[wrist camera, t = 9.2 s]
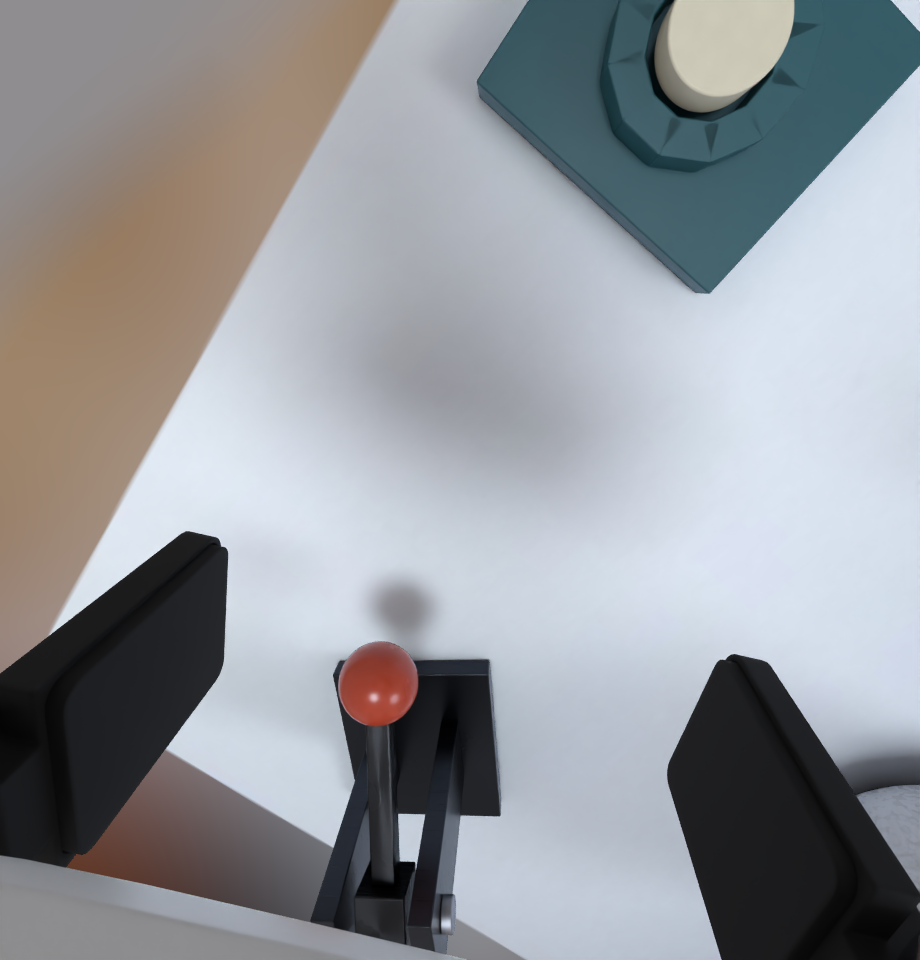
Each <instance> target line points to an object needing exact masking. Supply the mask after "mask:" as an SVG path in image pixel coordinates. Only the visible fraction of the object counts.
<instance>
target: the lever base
mask: <svg viewBox="0 0 920 960" xmlns="http://www.w3.org/2000/svg"><path fill="white" fill-rule="evenodd" d="M344 663H345V662H339V663H338V665H337V667H336V669H335V672H334V674H333V677H334V682H335V687H336V692H337V697H338V701H339V706H340V711H341V716H342V721H343V726H344V730H345V735H346V740H347V745H348V750H349V754H350V759H351V764H352V769H353V774H354V779H355V783H354V786H353V789H352V792H351V795H350V799H349V802H348V805H347V808H346V811H345V814H344V817H343V820H342V824H341V827H340V830H339V833H338V836H337V839H336V842H335V845H334V848H333V852H332V855H331V858H330V861H329V864H328V867H327V871H326V874H325V877H324V880H323V883H322V886H321V889H320V892H319V895H318V898H317V902H316V905H315V908H314V911H313V914H312V917H311V923H314V924H319V925H323V926H327V927H332V928H336V929H340V930H344V931H349V932H353V933H355V915H354V896H355V894H356V892H357V889H358V887H359V885H360V882H361V880H362V878H363V875H364V873H365V871H366V869H367V866H368V864H369V862H370V836H369V807H368V778H367V750H366V725H364V724H362V723H360V722H358V721H356V720H355V719H353V718H352V717H351V716H350V715H349V714H348V713H347V712H346V710H345V709H344V707H343V705H342V703H341V700H340V697H339V692H338V681H339V675H340V672H341V669H342V667H343V665H344ZM414 663H415V666H416V668H417V672H418V679H419V681H418V692H417V695H416V698H415V700H414V703H413V704H412V706H411V708H410V709H409V710H408V711H407V713H406V714H405V715H404V716H403V717H401V718H400V719H398V720H397V721H395V748H396V775H397V802H398V814H425V820H424V826H423V832H422V838H421V844H420V850H419V856H418V862H417V868H416V874H415V880H414V886H413V892H412V898H411V904H410V909H409V915H408V921H407V929H408V935H409V940H410V945H411V946H412V947H416V948H421V949H425V950H429V951H433V952H438V953H442V954H446V950H447V941H448V935H453V933H454V929H455V918H456V901H455V895H454V894H452V892H453V883H454V873H455V863H456V853H457V844H458V834H459V824H460V815H466V816H500V815H501V793H500V781H499V769H498V757H497V745H496V733H495V721H494V709H493V697H492V685H491V673H490V662H489V661H488V660H486V661H414Z"/></svg>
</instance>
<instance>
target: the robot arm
mask: <svg viewBox="0 0 920 960" xmlns="http://www.w3.org/2000/svg"><path fill="white" fill-rule="evenodd" d="M227 570H228V551H227V549H226V548H225V547H221V543H220V541H219V539H218V538H216V537H212V536H207V535H203V534H199V533H194V532H190V531H185V532H184V533H182V534H180V535H179V536H178V537H177V538H175V539H174V540H173V541H171V542H170V543H169V544H167V545H166V546H165V547H164V548H162V549H161V550H160V551H158V552H157V553H156V554H154V555H153V556H152V557H151V558H149V559H148V560H147V561H145V562H144V563H143V564H142V565H140V566H139V567H138V568H136V569H135V570H134V571H132V572H131V573H130V574H129V575H127V576H126V577H125V578H123V579H122V580H121V581H120V582H118V583H117V584H116V585H114V586H113V587H112V588H110V589H109V590H108V591H107V592H105V593H104V594H103V595H101V596H100V597H99V598H98V599H96V600H95V601H94V602H92V603H91V604H90V605H88V606H87V607H86V608H85V609H83V610H82V611H81V612H79V613H78V614H77V615H75V616H74V617H73V618H72V619H70V620H69V621H68V622H66V623H65V624H64V625H63V626H61V627H60V628H59V629H57V630H56V631H55V632H53V633H52V634H51V635H50V636H48V637H47V638H46V639H44V640H43V641H42V642H41V643H39V644H38V645H37V646H35V647H34V648H33V649H31V650H30V651H29V652H28V653H26V654H25V655H24V656H23V657H21V658H20V659H19V660H17V661H16V662H15V663H13V664H12V665H11V666H9V667H8V668H7V669H6V670H4V671H3V672H2V673H0V960H467V959H463V958H459V957H454V956H450V955H446V954H442V953H438V952H433V951H429V950H425V949H421V948H416V947H412V946H408V945H404V944H399V943H395V942H391V941H387V940H383V939H378V938H374V937H370V936H366V935H361V934H357V933H353V932H349V931H344V930H340V929H336V928H332V927H327V926H323V925H319V924H314V923H310V922H306V921H301V920H297V919H293V918H288V917H284V916H280V915H275V914H271V913H267V912H262V911H258V910H254V909H249V908H245V907H241V906H236V905H232V904H227V903H223V902H219V901H215V900H210V899H206V898H202V897H197V896H193V895H189V894H184V893H180V892H176V891H171V890H167V889H163V888H158V887H154V886H150V885H145V884H141V883H136V882H131V881H126V880H122V879H117V878H112V877H107V876H102V875H97V874H93V873H88V872H83V871H79V870H74V869H69V868H66V867H67V866H68V864H69V863H70V862H71V860H72V859H73V858H74V856H75V855H76V854H80V855H83V854H86V853H87V852H88V851H89V850H90V849H91V848H92V847H93V846H94V845H95V844H96V842H97V841H98V840H99V838H100V837H101V836H102V834H103V833H104V831H105V830H106V829H107V827H108V826H109V825H110V823H111V822H112V821H113V819H114V818H115V816H116V815H117V814H118V812H119V811H120V810H121V808H122V807H123V806H124V804H125V803H126V802H127V800H128V799H129V798H130V796H131V795H132V793H133V792H134V791H135V790H136V788H137V787H138V785H139V784H140V782H141V781H142V780H143V779H144V777H145V776H146V774H147V773H148V772H149V771H150V769H151V768H152V766H153V765H154V764H155V762H156V761H157V760H158V758H159V757H160V756H161V754H162V753H163V752H164V750H165V749H166V748H167V746H168V745H169V744H170V742H171V741H172V739H173V738H174V737H175V735H176V734H177V733H178V731H179V730H180V729H181V727H182V726H183V725H184V723H185V722H186V720H187V719H188V718H189V716H190V715H191V714H192V712H193V711H194V710H195V708H196V707H197V706H198V704H199V703H200V702H201V700H202V699H203V697H204V696H205V695H206V693H207V692H208V691H209V689H210V688H211V687H212V685H213V684H214V683H215V681H216V680H217V678H218V676H219V674H220V672H221V669H222V666H223V662H224V644H225V620H226V595H227ZM667 778H668V784H669V788H670V791H671V794H672V798H673V801H674V804H675V808H676V811H677V814H678V818H679V821H680V824H681V827H682V831H683V834H684V837H685V841H686V844H687V847H688V850H689V854H690V857H691V860H692V864H693V867H694V870H695V873H696V877H697V880H698V883H699V887H700V890H701V893H702V897H703V900H704V903H705V906H706V910H707V913H708V916H709V920H710V923H711V926H712V929H713V933H714V936H715V939H716V943H717V946H718V949H719V953H720V956H721V959H722V960H920V911H919V910H918V908H917V905H918V904H919V903H920V892H919V891H918V889H917V888H916V886H915V885H914V883H913V881H912V880H911V878H910V877H909V875H908V874H907V872H906V871H905V869H904V868H903V866H902V865H901V863H900V862H899V860H898V859H897V857H896V856H895V854H894V853H893V851H892V850H891V848H890V847H889V845H888V844H887V842H886V840H885V839H884V837H883V836H882V834H881V833H880V831H879V830H878V828H877V827H876V825H875V824H874V822H873V821H872V819H871V818H870V816H869V815H868V813H867V812H866V810H865V809H864V807H863V806H862V804H861V803H860V801H859V799H858V798H857V796H856V795H855V793H854V792H853V790H852V789H851V787H850V786H849V784H848V783H847V781H846V780H845V778H844V777H843V775H842V774H841V772H840V771H839V769H838V768H837V766H836V765H835V763H834V762H833V760H832V758H831V757H830V755H829V754H828V752H827V751H826V749H825V748H824V746H823V745H822V743H821V742H820V740H819V739H818V737H817V736H816V734H815V733H814V731H813V730H812V728H811V727H810V725H809V724H808V722H807V721H806V719H805V717H804V716H803V714H802V713H801V711H800V710H799V708H798V707H797V705H796V704H795V702H794V701H793V699H792V698H791V696H790V695H789V693H788V692H787V690H786V689H785V687H784V686H783V684H782V683H781V681H780V680H779V678H778V676H777V675H776V673H775V672H774V670H773V669H772V667H771V666H770V665H769V664H768V663H767V662H765V661H762V660H758V659H754V658H749V657H745V656H740V655H736V654H733V655H730V656H729V657H727V659H726V660H719V661H718V662H717V663H716V665H715V667H714V669H713V671H712V673H711V675H710V677H709V679H708V682H707V684H706V686H705V688H704V690H703V692H702V694H701V696H700V698H699V700H698V703H697V705H696V707H695V709H694V711H693V713H692V715H691V717H690V719H689V721H688V724H687V726H686V728H685V730H684V732H683V734H682V736H681V738H680V740H679V742H678V745H677V747H676V749H675V751H674V753H673V755H672V757H671V759H670V762H669V764H668V770H667Z"/></svg>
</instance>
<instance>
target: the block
mask: <svg viewBox="0 0 920 960" xmlns="http://www.w3.org/2000/svg"><path fill="white" fill-rule="evenodd" d="M673 2H674V0H529V1H528V2H527V4H526V5H525V7H524V8H523V10H522V12H521V13H520V15H519V16H518V18H517V19H516V21H515V22H514V24H513V25H512V27H511V29H510V30H509V32H508V33H507V35H506V36H505V38H504V39H503V41H502V43H501V44H500V46H499V47H498V49H497V50H496V52H495V53H494V55H493V57H492V58H491V60H490V61H489V63H488V64H487V66H486V67H485V69H484V70H483V72H482V74H481V75H480V77H479V78H478V80H477V86H478V91H479V96H480V98H481V99H482V100H483V101H485V102H486V103H487V104H488V105H489V106H490V107H491V108H492V109H493V110H495V111H496V112H497V113H498V114H499V115H500V116H501V117H502V118H503V119H504V120H506V121H507V122H508V123H509V124H510V125H511V126H512V127H513V128H514V129H515V130H517V131H518V132H519V133H520V134H521V135H522V136H523V137H524V138H525V139H527V140H528V141H529V142H530V143H531V144H532V145H533V146H534V147H535V148H536V149H538V150H539V151H540V152H541V153H542V154H543V155H544V156H545V157H546V158H547V159H549V160H550V161H551V162H552V163H553V164H554V165H555V166H556V167H557V168H558V169H560V170H561V171H562V172H563V173H564V174H565V175H566V176H567V177H568V178H570V179H571V180H572V181H573V182H574V183H575V184H576V185H577V186H578V187H579V188H581V189H582V190H583V191H584V192H585V193H586V194H587V195H588V196H589V197H590V198H592V199H593V200H594V201H595V202H596V203H597V204H598V205H599V206H600V207H602V208H603V209H604V210H605V211H606V212H607V213H608V214H609V215H610V216H611V217H613V218H614V219H615V220H616V221H617V222H618V223H619V224H620V225H621V226H622V227H624V228H625V229H626V230H627V231H628V232H629V233H630V234H631V235H632V236H634V237H635V238H636V239H637V240H638V241H639V242H640V243H641V244H642V245H643V246H645V247H646V248H647V249H648V250H649V251H650V252H651V253H652V254H653V255H654V256H656V257H657V258H658V259H659V260H660V261H661V262H662V263H663V264H664V265H666V266H667V267H668V268H669V269H670V270H671V271H672V272H673V273H674V274H675V275H677V276H678V277H679V278H680V279H681V280H682V281H683V282H684V283H685V284H686V285H688V286H689V287H690V288H691V289H692V290H693V291H694V292H695V293H708V294H709V293H711V292H712V290H713V289H714V288H715V287H716V286H717V285H718V284H719V283H720V282H721V281H722V280H723V279H724V277H725V276H726V275H727V274H728V273H729V272H730V271H731V270H732V269H733V268H734V267H735V265H736V264H737V263H738V262H739V261H740V260H741V259H742V258H743V257H744V256H745V255H746V254H747V252H748V251H749V250H750V249H751V248H752V247H753V246H754V245H755V244H756V243H757V242H758V240H759V239H760V238H761V237H762V236H763V235H764V234H765V233H766V232H767V231H768V230H769V229H770V227H771V226H772V225H773V224H774V223H775V222H776V221H777V220H778V219H779V218H780V217H781V216H782V214H783V213H784V212H785V211H786V210H787V209H788V208H789V207H790V206H791V205H792V204H793V202H794V201H795V200H796V199H797V198H798V197H799V196H800V195H801V194H802V193H803V192H804V191H805V189H806V188H807V187H808V186H809V185H810V184H811V183H812V182H813V181H814V180H815V179H816V177H817V176H818V175H819V174H820V173H821V172H822V171H823V170H824V169H825V168H826V167H827V166H828V164H829V163H830V162H831V161H832V160H833V159H834V158H835V157H836V156H837V155H838V154H839V152H840V151H841V150H842V149H843V148H844V147H845V146H846V145H847V144H848V143H849V142H850V141H851V139H852V138H853V137H854V136H855V135H856V134H857V133H858V132H859V131H860V130H861V129H862V127H863V126H864V125H865V124H866V123H867V122H868V121H869V120H870V119H871V118H872V117H873V116H874V114H875V113H876V112H877V111H878V110H879V109H880V108H881V107H882V106H883V105H884V104H885V103H886V101H887V100H888V99H889V98H890V97H891V96H892V95H893V94H894V93H895V92H896V91H897V89H898V88H899V87H900V86H901V85H902V84H903V83H904V82H905V81H906V80H907V79H908V78H909V76H910V75H911V74H912V73H913V72H914V71H915V70H916V69H917V68H918V67H919V66H920V32H919V31H918V30H917V29H916V27H915V26H914V25H913V24H912V23H911V22H910V21H909V20H908V19H907V18H906V17H905V15H904V14H903V13H902V12H901V11H900V10H899V9H898V8H897V7H896V6H895V4H894V3H893V2H892V1H891V0H794V19H793V25H792V30H791V34H790V37H789V39H788V42H787V45H786V47H785V49H784V51H783V53H782V55H781V56H780V58H779V60H778V61H777V63H776V64H775V65H774V67H773V68H772V69H771V70H770V71H769V72H768V74H767V75H766V76H765V77H764V78H762V79H761V80H760V81H759V82H758V83H757V84H755V85H754V86H753V87H752V88H751V89H749V90H748V91H747V92H746V93H745V94H743V95H742V96H741V97H740V98H738V99H737V100H736V101H734V102H733V103H731V104H729V105H728V106H726V107H724V108H721V109H718V110H715V111H711V112H703V113H702V112H692V111H688V110H685V109H683V108H681V107H679V106H677V105H676V104H674V103H673V102H672V101H671V100H670V99H669V98H668V97H667V96H666V94H665V93H664V91H663V90H662V88H661V86H660V84H659V82H658V79H657V75H656V70H655V62H654V53H655V45H656V39H657V36H658V32H659V29H660V27H661V24H662V22H663V20H664V18H665V16H666V14H667V13H668V11H669V9H670V7H671V5H672V4H673Z"/></svg>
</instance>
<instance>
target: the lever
mask: <svg viewBox="0 0 920 960" xmlns="http://www.w3.org/2000/svg"><path fill="white" fill-rule="evenodd" d="M418 681H419V679H418V672H417V668H416V666H415V663H414V661H413V660H412V658H411V657H410V655H409V654H408V653H407V652H406V651H405V650H404V649H402V648H401V647H399V646H397V645H395V644H393V643H390V642H383V641H378V642H372V643H368V644H365V645H363V646H361V647H360V648H358V649H357V650H355V651H354V652H353V653H352V654H351V655H350V656H349V657H348V659H347V660H346V661H345V663H344V665H343V667H342V669H341V672H340V675H339V681H338V692H339V697H340V700H341V703H342V705H343V707H344V709H345V710H346V712H347V713H348V714H349V715H350V716H351V717H352V718H353V719H355V720H356V721H358V722H360V723H362V724H364V725H366V750H367V778H368V807H369V836H370V862H369V864H368V866H367V869H366V871H365V873H364V875H363V878H362V880H361V882H360V885H359V887H358V889H357V892H356V894H355V896H354V915H355V933H357V934H361V935H366V936H370V937H374V938H378V939H383V940H387V941H391V942H395V943H399V944H404V945H408V946H411V945H410V940H409V935H408V929H407V921H408V915H409V909H410V904H411V898H412V892H413V886H414V880H415V874H416V868H415V862H401V861H400V856H399V829H398V802H397V775H396V748H395V721H397V720H398V719H400V718H401V717H403V716H404V715H405V714H406V713H407V711H408V710H409V709H410V708H411V706H412V704H413V703H414V700H415V698H416V695H417V692H418Z"/></svg>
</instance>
